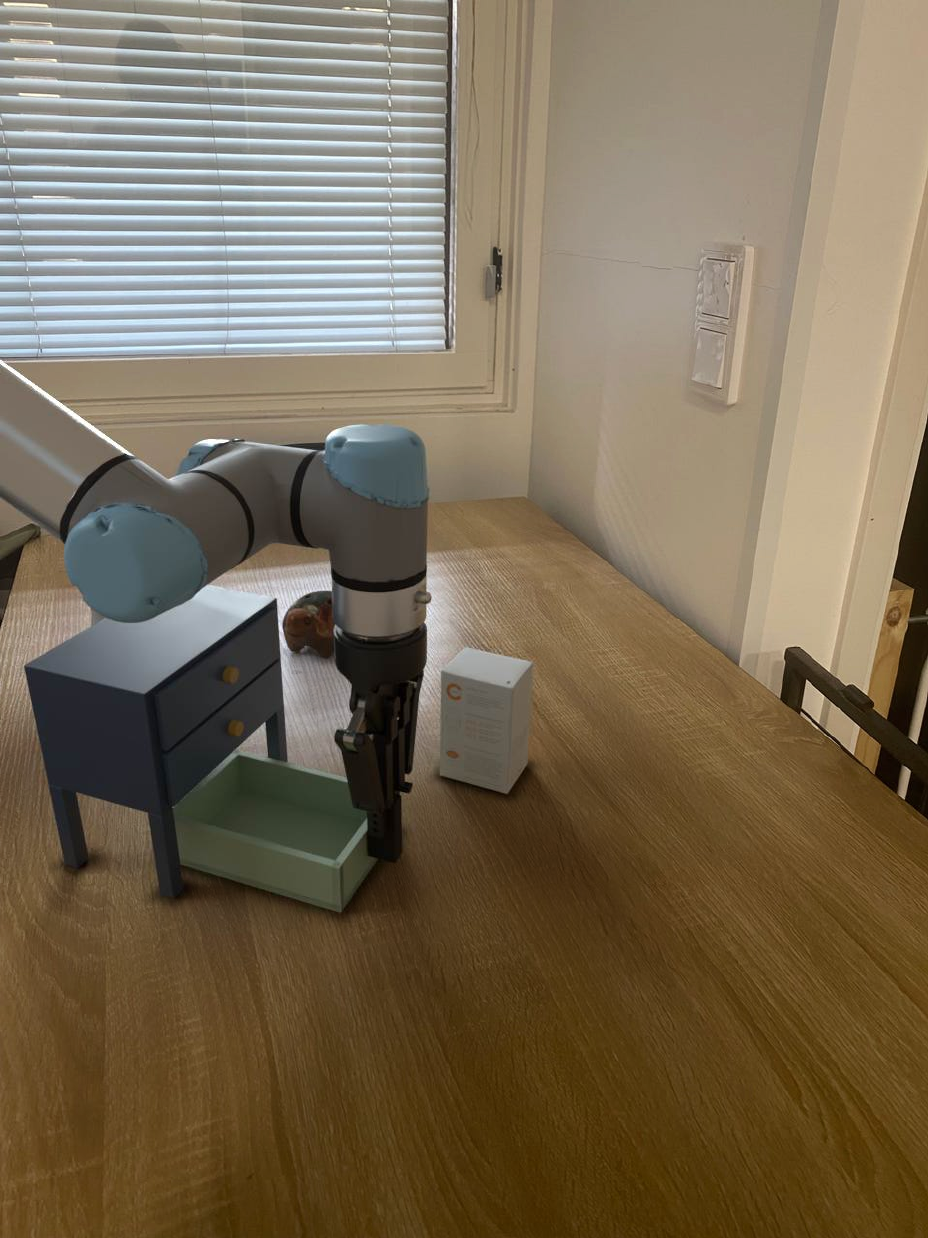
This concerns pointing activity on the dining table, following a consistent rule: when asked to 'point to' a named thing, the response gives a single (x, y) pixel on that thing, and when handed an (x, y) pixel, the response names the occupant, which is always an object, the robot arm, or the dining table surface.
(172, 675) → the drawer cabinet
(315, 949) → the dining table surface
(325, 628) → the brown ceramic figurine
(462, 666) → the small box
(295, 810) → the storage tub
